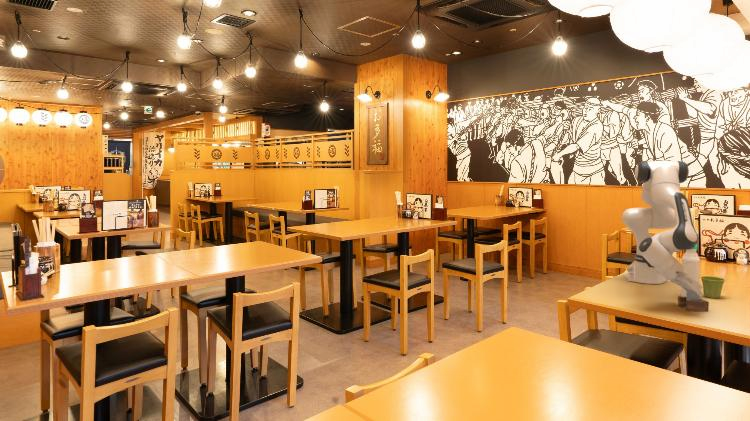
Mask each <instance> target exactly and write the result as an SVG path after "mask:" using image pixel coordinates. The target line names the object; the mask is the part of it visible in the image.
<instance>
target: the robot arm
mask: <svg viewBox="0 0 750 421" xmlns="http://www.w3.org/2000/svg"><path fill="white" fill-rule="evenodd" d="M689 174H690V169H689V166H688V164H687V162H684V161H681V160H677V161H676V160H666V159H665V160H641V161H640V162H638V163H637V164H636V167H635V169H634V176H635V180H636V181H637V182H639V183H642V188H641V195H640V198H641V201H642V202H643V203H645V204H646V205H648V206H650V207H631V208H627V209H625V210H624V211H623V213H622V216H621V220H622V223H623V225H624V226H625V227H627V229H629V230H630V231H631V233H632V234H633V235H634V237H635V243H636V253H635V256H634V261H632V263H630V264H629V266H627V267H626V271H627V273H626V272H625V273H623V276H624V278H625V279H626V280H627V281H628V282H634V283H638V284H647V285H649V284H650V285H660V284H661V285H662V284H664V283H665V282H668V281H670V282H672V283H673V284H675V285H677V286H679V287H680V288H681V287H683V288H684V289H685V290H686V291H687V289H689V290H691V291H693V292H695V293H696V294H697V295H698V296H700V298H702V297H704V292H703V291H701V290H703V284H701V283H699V282H697V281H696V280H695V279H694V278H693V277H692V276H690V275H689V274H686V273H684V266H683V265H682V262H680V261H679V260H678V259H677V258H676V257H675V256H673V254H674V253H676V252H680V251H686V250H689V249H693V248H694V247H695V246H696V244H697V243H698V241H699V240H698V239H699V237H698V236H699V235H698V233H697V231H696V228H695V227H694V222H693V217H692V213H691V209H690V205H689V201H688V198H687V196H686V195H685V194H684V193H682V192H681V185H680V184H682V183H684V182H686V181H687V179H688V177H689ZM650 229H651V230H652V229H653V230H654V229H655V230H663V231H660V232H657V233H655V234H651V233H650V232H649V230H650ZM665 229H666V230H665ZM697 245H698V244H697Z"/></svg>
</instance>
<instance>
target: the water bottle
mask: <svg viewBox="0 0 750 421" xmlns="http://www.w3.org/2000/svg"><path fill="white" fill-rule="evenodd" d="M698 246H699V245H698V244H696V246H695V247H694V248H693V249H689V250H685V252H684V254H683V255H682V257H681V264H682V265H683V266H684V273H686V274H689V275H690V276H692V277H693V278H694V279H695V280H696V281H697V282H698V283H699V282H700V272H701V271H700V269H701V268H700V267H701V266H700V262H701V259H700V257H699V254H698V253H697V250H698ZM679 295H680V296H679V297H686V295H687V291H686V290H685V289H684V288H683V287H681V286H680V292H679Z"/></svg>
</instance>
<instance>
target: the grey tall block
mask: <svg viewBox="0 0 750 421" xmlns="http://www.w3.org/2000/svg"><path fill="white" fill-rule="evenodd" d="M700 298H701V297H700V296H698V295H697V294H696V293H695V292H693V291H691V290H689V289H687V295H686V301H700Z"/></svg>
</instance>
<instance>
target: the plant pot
mask: <svg viewBox="0 0 750 421" xmlns="http://www.w3.org/2000/svg"><path fill="white" fill-rule="evenodd" d="M700 279H701V283H702V290H703V291H702V293H703V294H704V295H703V297H708V298H710V299H719V298H721V294H722V289H723V285H724V283H725V282H726V278H723V277H719V276H713V275H703V276H700Z"/></svg>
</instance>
